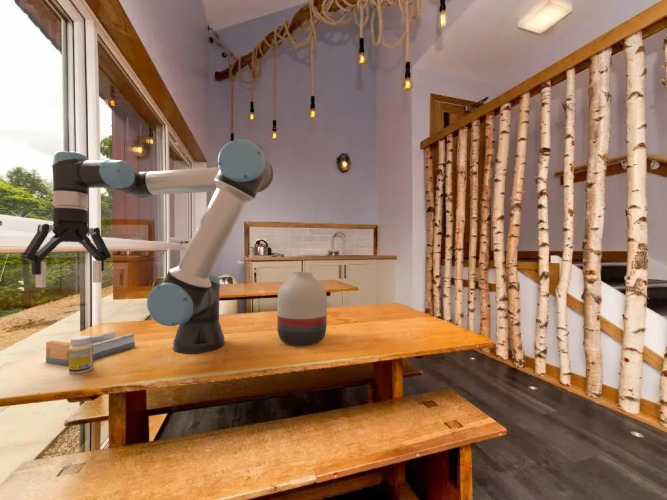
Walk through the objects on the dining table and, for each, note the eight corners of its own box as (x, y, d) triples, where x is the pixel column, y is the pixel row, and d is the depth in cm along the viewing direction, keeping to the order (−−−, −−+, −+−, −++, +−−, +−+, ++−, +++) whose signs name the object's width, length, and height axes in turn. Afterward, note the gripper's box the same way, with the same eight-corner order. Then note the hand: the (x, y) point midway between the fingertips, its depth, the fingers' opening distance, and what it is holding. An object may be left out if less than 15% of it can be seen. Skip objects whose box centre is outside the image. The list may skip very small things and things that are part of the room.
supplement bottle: (78, 367, 79) (78, 334, 79) (97, 366, 80) (97, 334, 80) (63, 374, 75) (64, 340, 75) (83, 373, 75) (84, 339, 75)
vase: (315, 351, 94) (316, 274, 94) (267, 345, 99) (268, 273, 100) (333, 337, 110) (333, 271, 110) (291, 332, 115) (291, 270, 116)
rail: (134, 346, 97) (134, 329, 97) (71, 366, 80) (71, 345, 80) (111, 343, 100) (111, 326, 100) (45, 362, 83) (46, 342, 83)
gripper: (107, 214, 98) (107, 280, 98) (2, 202, 74) (2, 289, 74) (124, 213, 95) (124, 281, 95) (21, 200, 72) (20, 290, 71)
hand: (70, 284), depth 85 cm, fingers open, 13 cm apart
